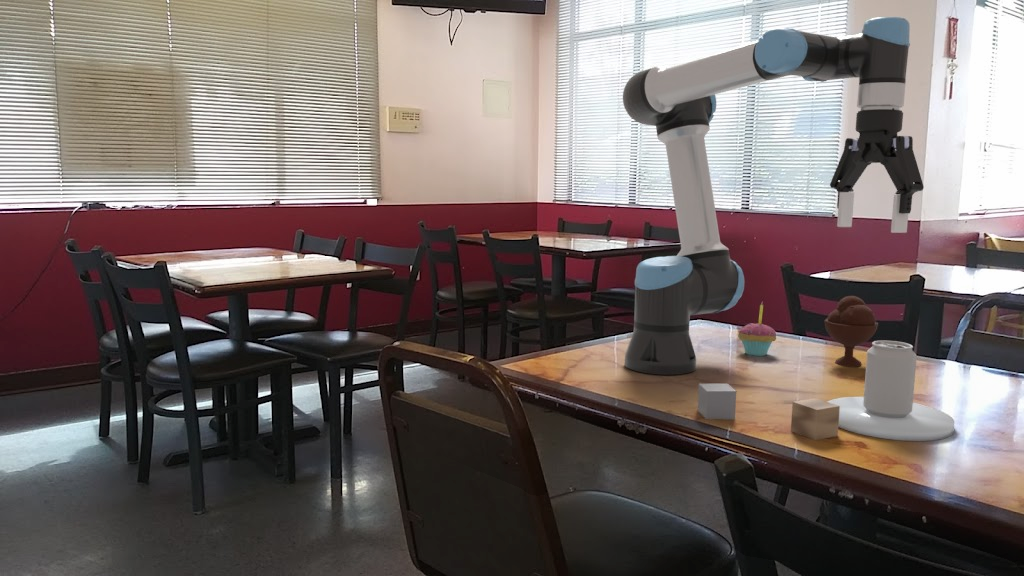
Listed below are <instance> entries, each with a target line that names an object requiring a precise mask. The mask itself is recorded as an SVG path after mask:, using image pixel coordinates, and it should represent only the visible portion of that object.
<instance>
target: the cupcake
mask: <svg viewBox="0 0 1024 576" xmlns="http://www.w3.org/2000/svg"><path fill="white" fill-rule="evenodd" d="M763 312H764V304H763V301H761V304H760V305H759V314H758V315H759V316H758V322H757V323H753V322H751V323H747V324H746V325H744V326H742V327H740V328H739V330H738V334H737V338H738V339H739V340H741V343H742V346H743V348H744V353H745V354H747V355H749V356H754V357H755V356H759V357H763V356H767V354H768V353H769V352H768V351H769V348H770V346H771V345H772V343H773V342H775V341H776V340H777V333H776V331H775V329H774V328H773V327H771V326H770V325H767V324H763V323H762V319H763Z"/></svg>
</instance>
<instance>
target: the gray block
mask: <svg viewBox="0 0 1024 576" xmlns="http://www.w3.org/2000/svg"><path fill="white" fill-rule="evenodd" d="M697 396H698V397H697V412H698V411H699V412H700V413H701V414H702V415H703V416H704V417H705V418H706V419H723V420H736V407H737V406H736V403H737V391H736V389H734V388H733V387H732V386H731V385H729V383H698V394H697ZM699 412H698V413H699ZM700 413H699V414H700ZM701 414H700V415H701ZM702 415H701V416H702ZM703 416H702V417H703ZM704 417H703V418H704ZM705 418H704V419H705ZM706 419H705V420H706Z"/></svg>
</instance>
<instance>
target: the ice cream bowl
mask: <svg viewBox="0 0 1024 576" xmlns="http://www.w3.org/2000/svg"><path fill="white" fill-rule="evenodd" d="M823 322H824V329H825V330H826V332H827V334H828V335H829V336H830V338H832V339H833V340H834V341H835V342H837V343H838V344H840V345H843V347H844V355H843V356H841V357H838V358H837V359H836V360H835V362H834V364H836V365H838V366H843V367H852V368H853V367H854V368H855V367H861V366H862V362H861V361H860V360H859V359H857V358H856V357H854V349H855V347H858V346H861V345H863V344H865V343H866V342H868V341H869V340H870V339H871V338H873V336H874V335H875V333H876V331H877V330H878V326H879V322H877V321H876V315H875V314H874V310H872V309H871V308H870V307H868V306H867V305H866V302H864V300H863V299H862V298H860V297H859V296H855V295H848V296H844V297H843V298H841V299H840V300H839V301H838V302H837V306H836V308H835V309H834V310H832V311H831V312H829V314H828V316H827V318H825V320H824V321H823Z"/></svg>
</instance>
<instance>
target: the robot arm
mask: <svg viewBox="0 0 1024 576" xmlns="http://www.w3.org/2000/svg"><path fill="white" fill-rule="evenodd" d="M910 27H911V26H910V23H909V21H908V19H907V18H904V17H900V16H882V17H873V18H871V19H868V20H866V21H864V23H863V27H862V29H861V30H862V31H861V33H858V34H853V35H845V36H843V35H842V36H831V35H830V36H829V35H823V34H819V33H813V32H812V33H811V32H806V31H802V30H797V29H795V28H790V27H774V28H770V29H768V30H767V31H765V32H764V33H763V34H762V36H760V37H759V38H758V39H757V40H756V41H755V40H754V41H752V42H749V43H745V44H742V45H739V46H736V47H733V48H729V49H726V50H723V51H719V52H716V53H713V54H710V55H706V56H703V57H701V58H696V59H693V60H690V61H687V62H684V63H681V64H677V65H674V66H670V67H665V66H663V65H658V66H657V65H656V66H653V67H650V68H648V69H647V68H646V69H645V70H642V71H639V72H636V73H635V74H634V75H633V76H631V77H630V78H629V80H628V81H627V82H626V84H625V86H624V88H623V92H622V102H623V107H624V109H625V111H626V113H627V115H628V116H629V117H630V118H631V119H632V120H634V121H635V122H637V123H639V124H640V125H641V124H642V125H645V126H653V127H654V126H655V129H656V136H657V140H659V141H660V142H661V143H663V144H664V145H665V149H666V157H667V163H668V169H669V175H670V182H671V190H672V195H673V201H674V202H673V203H674V209H675V216H676V222H677V229H678V235H679V236H678V237H679V241H680V250H679V252H678V253H677V255H667V256H656V257H655V256H654V257H651V258H647V259H645V260H643V261H640V262H639V263H638V264H637V266H636V269H635V270H636V271H635V278H634V311H633V312H634V318H633V321H634V322H633V332H632V334H631V337H630V339H629V340H630V341H629V343H628V346H627V349H626V351H625V353H624V366H625V367H626V368H627V369H629V370H632V371H635V372H640V373H643V374H649V375H650V374H651V375H668V376H669V375H671V376H673V375H685V374H690V373H693V372H694V371H696V370H697V356H696V353H695V349H694V346H693V342H692V339H691V335H690V321H691V320H690V319H691V316H696V315H705V314H715V313H717V314H718V313H720V312H722V311H727V310H729V309H731V308H733V307H735V306H736V304H737V303H738V302H739V300H740V299H741V297H742V296H743V292H744V290H745V276H744V272H743V269H742V268H741V266H739V265H738V263H737V262H736V261H734V260H732V259H731V256H730V249H729V248H728V247H727V246H726V245H724V244H723V243H722V242H721V238H720V232H719V226H718V218H717V213H716V205H715V200H714V193H713V192H714V191H713V187H712V185H713V184H712V181H711V180H712V178H711V174H710V173H711V172H710V168H709V167H710V166H709V161H708V155H707V147H706V141H705V137H706V135H707V134H708V132H709V131H710V130H711V129H710V122H711V121H712V120H713V118H714V116H715V115H714V113H716V110H717V97H716V95H718V94H721V93H726V92H728V91H733V90H736V89H741V88H744V87H748V86H752V85H755V84H756V85H757V84H759V83H763V82H767V81H771V80H776V79H779V78H784V77H788V76H795V77H797V76H798V77H802V78H803V80H804V81H807V82H821V83H822V82H827V81H835V80H842V79H853V78H854V79H855V78H858V91H857V92H858V93H857V101H856V102H857V103H856V107H857V108H858V109H860V110H858V111H857V113H856V119H855V120H856V121H855V131H856V132H857V133H859V134H858V135H859V136H858V138H855V137H853V138H852V137H851V138H850V137H847V138H846V139H845V140H844V141H845V142H844V148H843V152H842V154H841V156H840V159H839V162H838V164H837V166H836V169H835V171H834V174H833V176H832V179H831V182H830V184H829V187H830V188H831V189H835V190H836V192H837V205H836V207H837V209H838V211H837V222H836V223H837V224H836V227H838V228H853V227H852V226H853V213H854V204H855V203H854V202H855V192H854V189H853V188H854V186H855V185H856V183H857V182H858V180H859V179H860V178H861V176H862V174H863V173H864V172H865V170H866V168H867V167H868V166H870V165H872V164H874V163H875V164H877V163H878V164H879V163H880V164H881V165H882V166H884V168H885V170H886V172H887V174H888V176H889V178H890V181H892V184H893V185H894V187H895V189H896V192H895V194H893V203H892V204H893V205H892V212H891V213H892V214H891V226H890V233H895V234H896V233H897V234H898V233H901V234H906V233H908V223H909V214H910V213H911V211H912V205H913V204H912V202H913V195H914V194H915V193H918V192H922V191H923V190H924V183H923V179H922V176H921V172H920V170H919V169H920V168H919V166H918V162H917V159H916V155H915V153H914V148H913V145H914V144H913V143H914V142H913V141H914V140H913V136H910V135H898V133H899V132H901V131H902V129H903V120H904V119H903V118H904V112H903V110H901V108H903V107H904V105H905V93H906V79H907V78H906V77H907V76H906V75H907V66H908V59H909V58H908V57H909V49H910V46H911V43H910Z"/></svg>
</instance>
